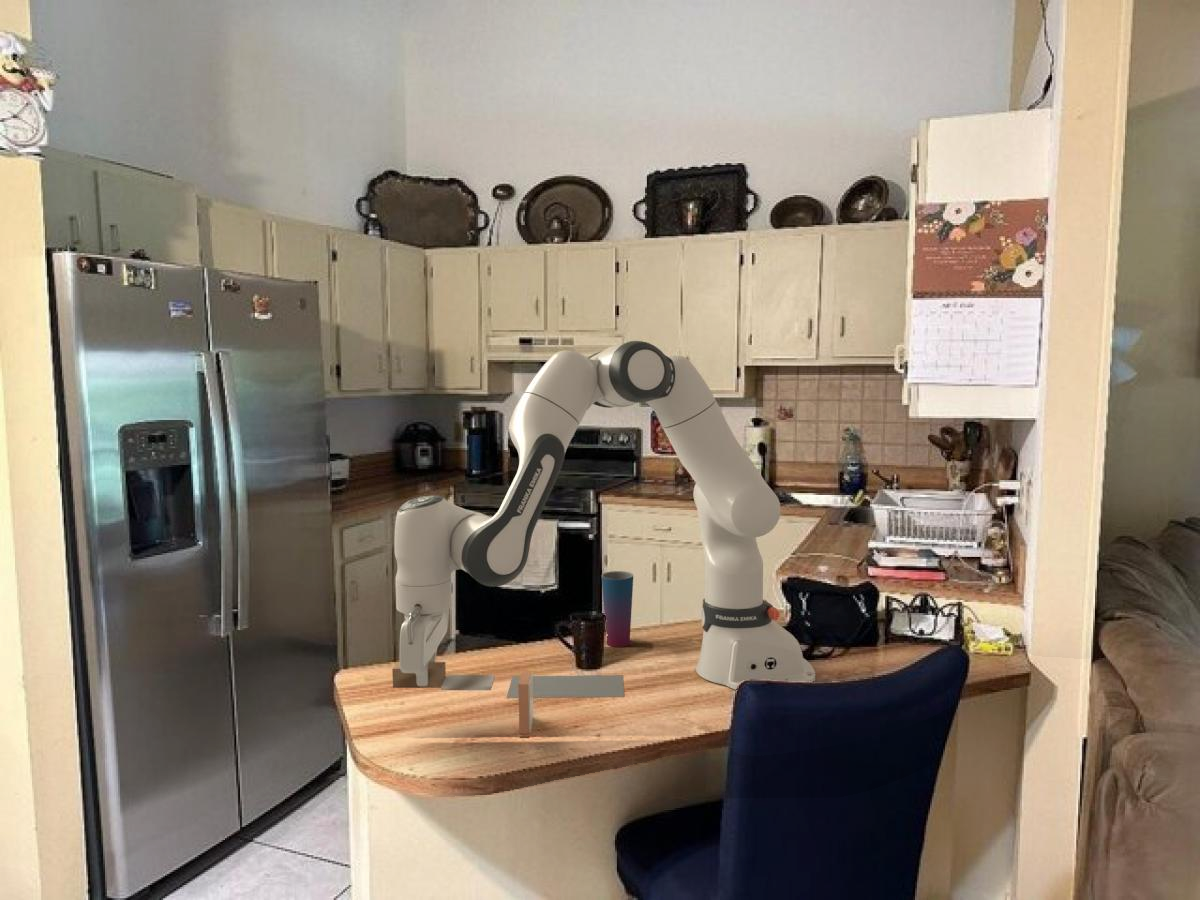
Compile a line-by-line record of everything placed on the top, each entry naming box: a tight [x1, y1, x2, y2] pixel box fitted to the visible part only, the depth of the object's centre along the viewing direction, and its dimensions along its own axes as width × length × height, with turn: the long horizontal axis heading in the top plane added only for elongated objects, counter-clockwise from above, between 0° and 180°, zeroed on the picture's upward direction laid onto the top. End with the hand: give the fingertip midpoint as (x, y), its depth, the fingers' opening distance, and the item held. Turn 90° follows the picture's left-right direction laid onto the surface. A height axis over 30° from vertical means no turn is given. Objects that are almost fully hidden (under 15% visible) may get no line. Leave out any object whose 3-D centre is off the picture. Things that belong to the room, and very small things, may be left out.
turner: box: [391, 661, 496, 691], centre depth 133 cm, size 16×5×3 cm, turn 90°
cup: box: [601, 570, 634, 648], centre depth 174 cm, size 7×7×15 cm
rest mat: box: [506, 674, 625, 699], centre depth 150 cm, size 21×10×1 cm, turn 90°
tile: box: [518, 669, 534, 739], centre depth 133 cm, size 2×6×9 cm, turn 0°
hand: (426, 679), depth 133 cm, fingers closed on turner, 3 cm apart
